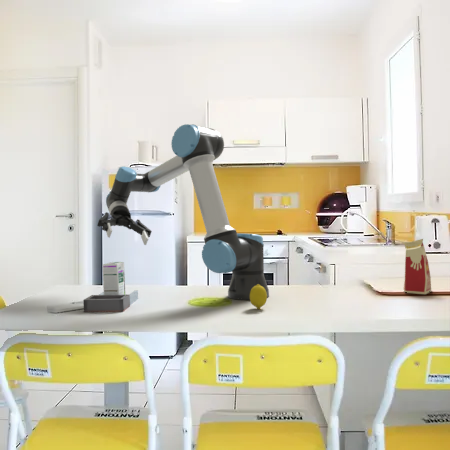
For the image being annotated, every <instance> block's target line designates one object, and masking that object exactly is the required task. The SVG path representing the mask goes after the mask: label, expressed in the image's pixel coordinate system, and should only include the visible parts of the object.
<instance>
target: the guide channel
mask: <svg viewBox="0 0 450 450" xmlns="http://www.w3.org/2000/svg"><path fill="white" fill-rule="evenodd" d="M98 295H104V291H102V292H100V293H98ZM128 295H130V306H131V305H132V304H133V303H135V302H136V301H137V300H138V299H139V290H134V291H131V292H130V293H129V294H128Z"/></svg>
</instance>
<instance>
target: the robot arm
mask: <svg viewBox="0 0 450 450" xmlns="http://www.w3.org/2000/svg"><path fill="white" fill-rule="evenodd" d="M170 145H171V149H172V152H173V154H175V156H173V157H172V158H170V159H168V160H166V161H165V162H162V163H161V164H160V165H158V166H155V167H154V168H152V169H151V170H149V171H147V172H145V173H137V172H136V170H135V169H134V168H131V167H128V166H120V167H119V168H118V169H117V171H116V174H115V177H114V181H113V185H112V187H111V190H110V192H109V193H107V195H106V198H105V203H106V204H105V205H106V207H107V209H108V212H105V213H104V215H103V216H102V217H100V218H99V220H98V222H97V227H101V230H102V231H104V232H105V233H106V235H107V238H109V239H110V238H111V235H112V232H113V230H112V226H113V227H115V226H118V227H124V228H127V229H128V230H132V231H133V232H135V233H137V234H139V235H140V239H141V240H142V243H143V245H144V246H147V243H148V241H149V238H150V237H151V234H152V230H151V229H150V228H149V227H147V226H146V225H145V224H144V223H142V222H141V221H140V219H136V220H134V219H132V215H131V211H130V210H129V207H128V205H127V203H128V200H129V198H130V195H131V192H136V193H137V192H139V193H155V192H158V191H159V189H160V188H161V186H162V185H165V184H166V183H168V182H170V181H172V180H174V179H176V178H177V177H179V176H181V175H183V174H185V173H187V172H189V174H190V177H191V181H192V185H193V189H194V192H195V196H196V200H197V202H198V203H197V204H198V206H199V210H200V214H201V217H202V221H203V225H204V227H205V230H206V231H205V232H206V234H205V235H204V238H203V240H204V241H203V242H204V245H203V247H202V250H201V259H202V261H203V263H204V265H205V266H206V268H207V269H208V270H210V271H212V272H213V273H214V274H228V273H231V272H232V273H231V274H232V275H231V278H230V282H229V285H228V289H227V297H228V298H230V299H233V300H241V301H242V300H247V301H248V300H249V301H250V291H251V289H252V288H253V287H254V286H256V285H257V284H259V285H260V286H262V287H264V288H265V290H266V293H267V298H269V297H270V290H269V287H268V284H267V283H268V282H267V281H266V278H265V274H264V273H265V272H264V270H265V269H264V268H265V265H264V264H265V263H264V260H265V259H264V256H265V255H264V246H265V245H264V239H263V236H262V235H260V234H256V233H255V234H253V233H238V232H237V230H236V228H233V227H232V226H231V224H230V221H229V218H228V214H227V209H226V206H225V203H224V200H223V197H222V193H221V189H220V186H219V183H218V179H217V176H216V172H215V168H214V165H213V162H214V161H215V160H216V159H218V158H219V157H221V156H222V153H223V151H224V149H225V142H224V138H223V136H222V134H221V133H220V132H219V131H217V130H216V129H214V128H210V127H204V126H199V125H196V124H186V123H185V124H182V125H181V126H179V127H177V129H175V131H174V134H173V136H172V138H171V144H170Z"/></svg>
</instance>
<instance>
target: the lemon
mask: <svg viewBox="0 0 450 450" xmlns="http://www.w3.org/2000/svg"><path fill="white" fill-rule="evenodd" d="M267 299H268V297H267V293H266V290H265V288H264V287H262V286H260V285H259V284H257V285H256V286H254V287H253V288H252V289H251V291H250V300H249V301H250V303H251V305H252V306H254V307H255V308H256V309H257V310H259V309H261V308H262V307H263V306H265V305H266V303H267Z"/></svg>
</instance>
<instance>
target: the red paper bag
mask: <svg viewBox="0 0 450 450" xmlns="http://www.w3.org/2000/svg"><path fill="white" fill-rule="evenodd" d="M423 241H424V238H419V239H417V240H414V241H406V242H402V244H403V245H404V247H405V259H404V261H405V264H404V281H403V282H404V283H403V290H404V291H405V292H407V293H406V294H417V295H427V294H429V293H430V292H431V291H432V280H431V279H432V277H431V271H430V264H429V261H428V256H427V251H426V249H425V245H424V242H423ZM404 291H403V292H404ZM429 291H430V292H429ZM405 292H404V293H405Z"/></svg>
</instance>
